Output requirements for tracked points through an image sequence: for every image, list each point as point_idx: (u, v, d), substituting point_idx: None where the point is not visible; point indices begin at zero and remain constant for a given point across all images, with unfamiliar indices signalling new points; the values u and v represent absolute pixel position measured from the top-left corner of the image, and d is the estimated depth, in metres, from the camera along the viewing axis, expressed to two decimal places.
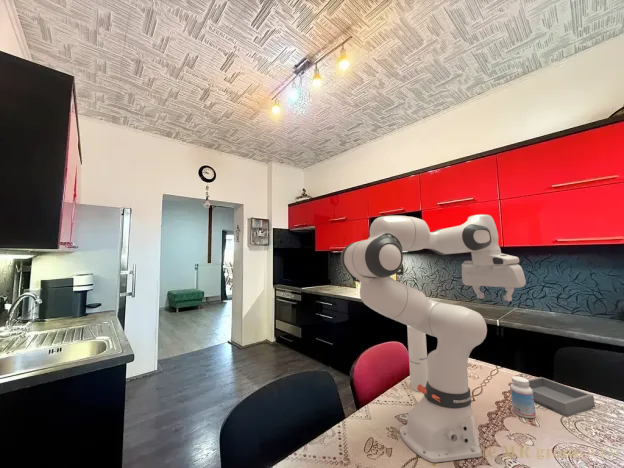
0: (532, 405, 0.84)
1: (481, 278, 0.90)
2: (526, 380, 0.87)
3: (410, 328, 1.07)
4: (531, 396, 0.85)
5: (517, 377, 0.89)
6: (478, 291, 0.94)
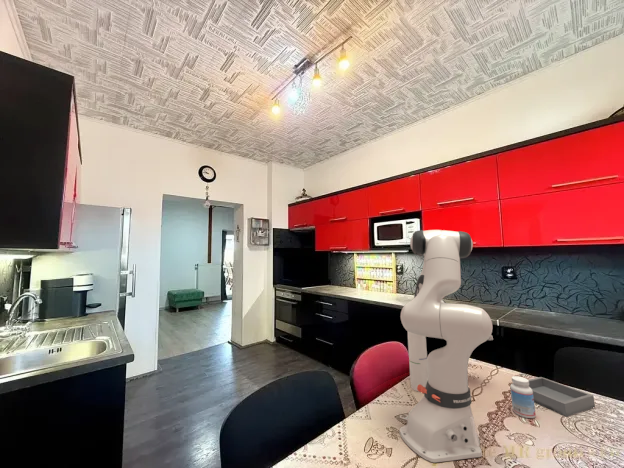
0: (532, 405, 0.84)
1: None
2: (526, 380, 0.87)
3: None
4: (531, 396, 0.85)
5: (517, 377, 0.89)
6: None
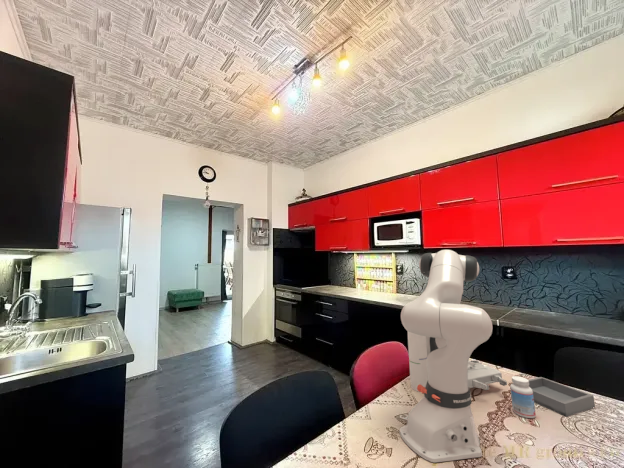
0: (532, 405, 0.84)
1: (474, 373, 1.02)
2: (526, 380, 0.87)
3: None
4: (531, 396, 0.85)
5: (517, 377, 0.89)
6: None
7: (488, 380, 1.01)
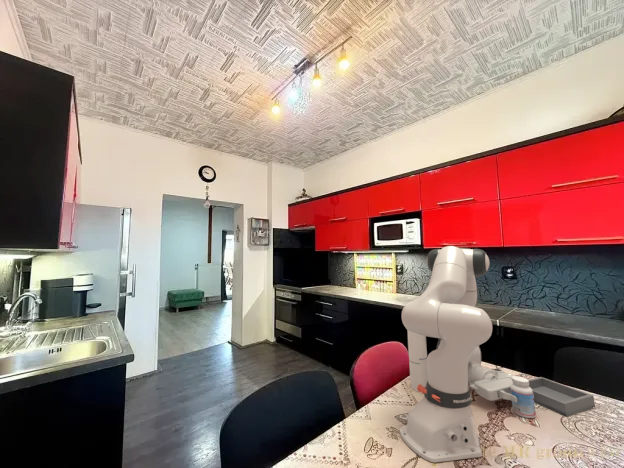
0: (532, 405, 0.84)
1: (499, 383, 0.93)
2: (526, 380, 0.87)
3: None
4: (531, 396, 0.85)
5: (517, 377, 0.89)
6: None
7: None
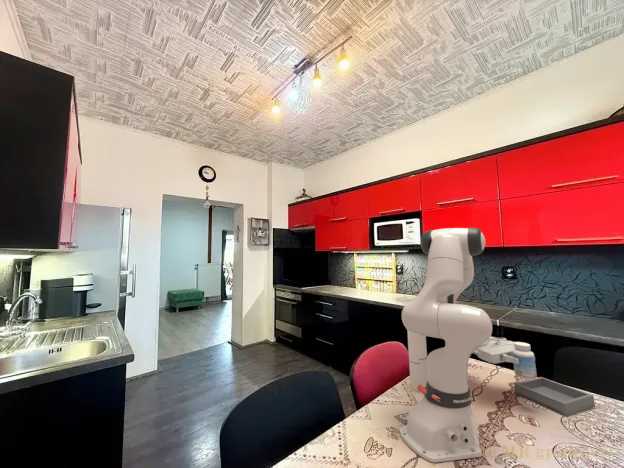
0: (534, 367, 0.88)
1: (501, 348, 0.96)
2: (527, 344, 0.90)
3: None
4: (533, 359, 0.88)
5: (519, 342, 0.92)
6: None
7: None
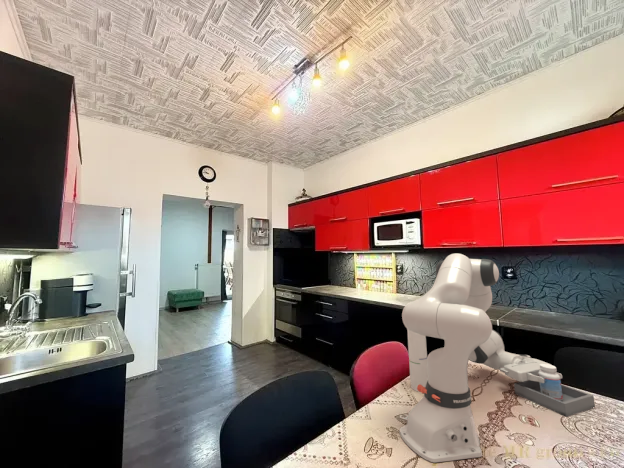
0: (560, 389, 0.92)
1: (527, 367, 1.01)
2: (553, 367, 0.95)
3: None
4: (559, 381, 0.93)
5: (544, 364, 0.97)
6: None
7: None
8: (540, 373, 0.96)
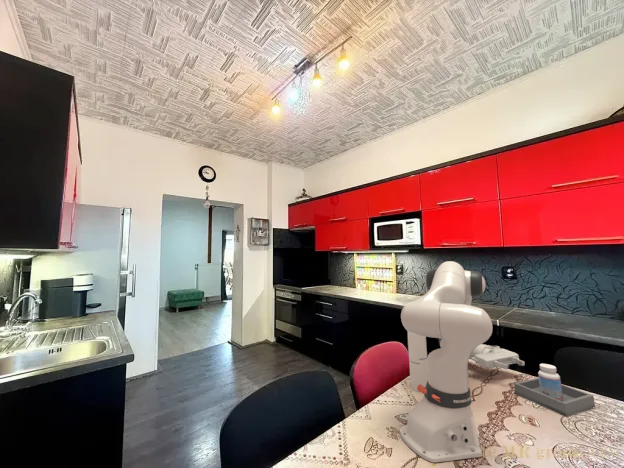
0: (560, 389, 0.92)
1: (494, 355, 1.13)
2: (553, 367, 0.95)
3: None
4: (559, 381, 0.93)
5: (544, 364, 0.97)
6: None
7: (507, 361, 1.13)
8: (540, 373, 0.96)
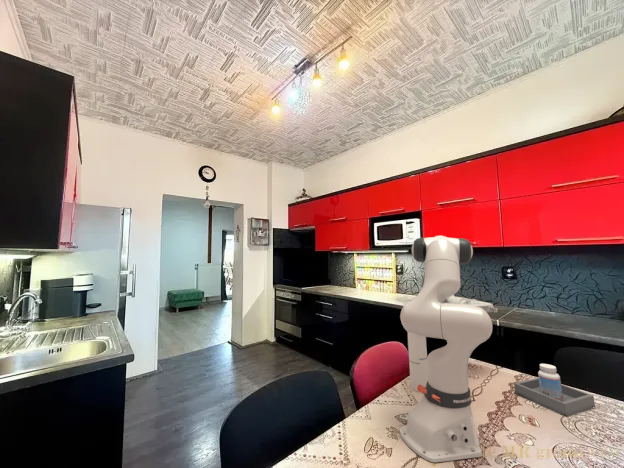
0: (560, 389, 0.92)
1: (470, 304, 1.19)
2: (553, 367, 0.95)
3: None
4: (559, 381, 0.93)
5: (544, 364, 0.97)
6: None
7: None
8: (540, 373, 0.96)
